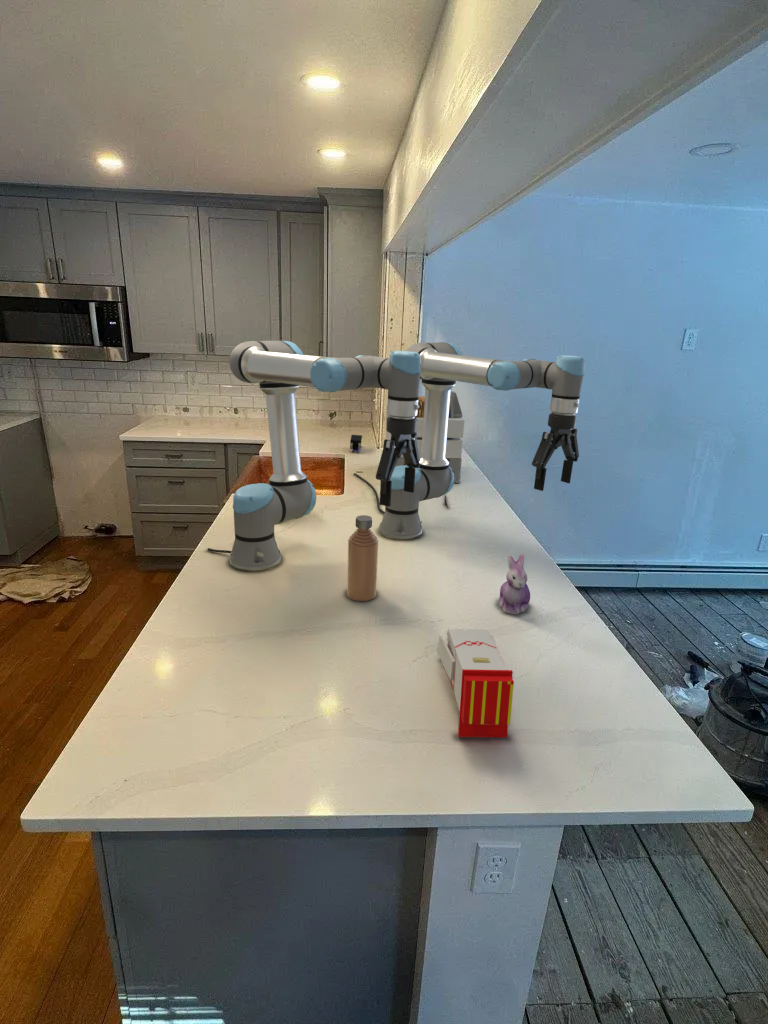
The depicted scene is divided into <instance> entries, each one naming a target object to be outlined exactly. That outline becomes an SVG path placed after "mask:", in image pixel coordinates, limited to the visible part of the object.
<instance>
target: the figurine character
mask: <svg viewBox="0 0 768 1024" xmlns="http://www.w3.org/2000/svg"><path fill="white" fill-rule="evenodd" d="M362 439H363V435H361V434H351V436H350V442H349V450H351V453H354V452H357V453H359V452H360V451H361V450H362V448H363V446H362Z"/></svg>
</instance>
